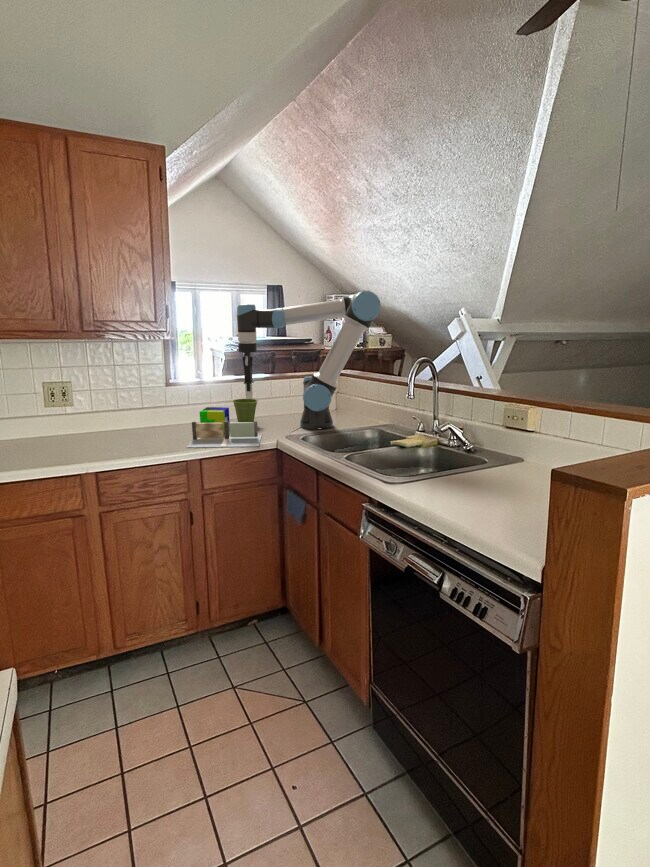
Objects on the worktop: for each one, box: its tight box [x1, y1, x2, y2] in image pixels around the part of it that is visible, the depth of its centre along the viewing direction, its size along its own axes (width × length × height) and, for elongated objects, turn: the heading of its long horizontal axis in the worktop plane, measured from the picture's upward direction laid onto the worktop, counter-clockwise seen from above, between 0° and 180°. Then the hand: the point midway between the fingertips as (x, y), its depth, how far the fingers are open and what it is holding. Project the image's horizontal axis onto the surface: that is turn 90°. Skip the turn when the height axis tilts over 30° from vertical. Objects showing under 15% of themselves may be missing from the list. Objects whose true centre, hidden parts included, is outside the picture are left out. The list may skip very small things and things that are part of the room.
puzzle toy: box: [199, 406, 231, 435], centre depth 220 cm, size 10×10×10 cm
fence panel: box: [229, 420, 259, 437], centre depth 207 cm, size 11×1×6 cm, turn 93°
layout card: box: [186, 434, 263, 449], centre depth 205 cm, size 28×18×1 cm, turn 93°
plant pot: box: [231, 398, 259, 422], centre depth 234 cm, size 12×12×11 cm
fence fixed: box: [191, 421, 230, 440], centre depth 207 cm, size 15×2×8 cm, turn 93°
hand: (249, 398), depth 213 cm, fingers closed
